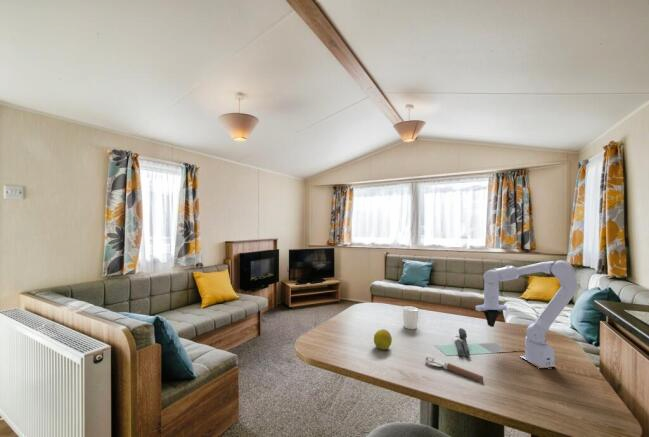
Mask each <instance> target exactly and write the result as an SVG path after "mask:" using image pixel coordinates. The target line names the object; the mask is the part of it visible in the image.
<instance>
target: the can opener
mask: <svg viewBox="0 0 649 437" xmlns="http://www.w3.org/2000/svg"><path fill="white" fill-rule="evenodd" d="M458 333H459V334H453V338H454V342H455V345H456V347H457V351H458V355H457V356H460V357H462V356H465V357H466V358H469V357H470V355H471V354H470V352H469V348H468V345H467V344H468V343H467V342H468V341H467V338H468V337H467V336H468V335H467V331H466V329H465V328H459V329H458ZM461 344H462V345H461ZM462 347H463V349H462ZM463 351H464V355H463Z"/></svg>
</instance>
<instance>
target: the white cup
mask: <svg viewBox="0 0 649 437" xmlns="http://www.w3.org/2000/svg"><path fill="white" fill-rule="evenodd" d="M402 311H403V312H402V313H403V314H402V315H403V326H404V327H405V328H406V329H409V330H417V328H418V321H419V320H418V319H419V308H418V307H415V306H411V305H409V306H408V305H406V306H405V305H404V306H403V308H402Z"/></svg>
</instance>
